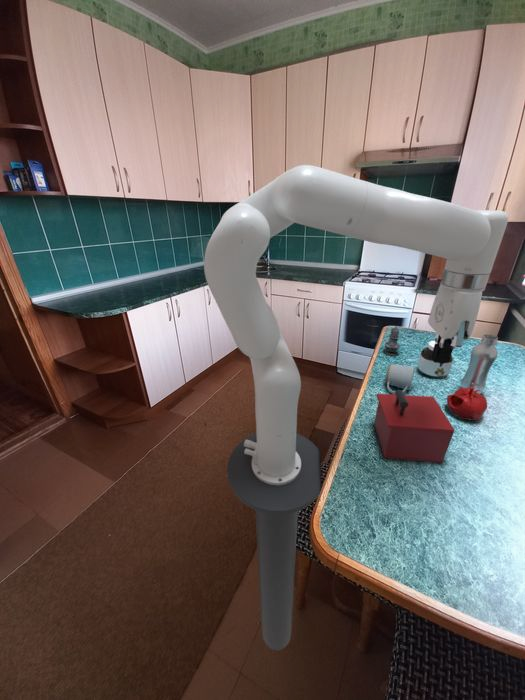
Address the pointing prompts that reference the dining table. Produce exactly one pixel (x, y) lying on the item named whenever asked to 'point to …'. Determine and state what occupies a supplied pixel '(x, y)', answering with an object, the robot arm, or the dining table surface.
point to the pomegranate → (467, 403)
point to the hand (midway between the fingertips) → (439, 360)
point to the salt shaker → (392, 343)
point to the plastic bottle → (480, 363)
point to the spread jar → (432, 363)
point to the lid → (413, 412)
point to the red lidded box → (411, 442)
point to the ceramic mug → (399, 377)
